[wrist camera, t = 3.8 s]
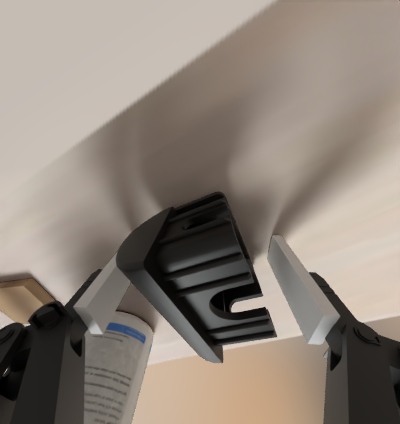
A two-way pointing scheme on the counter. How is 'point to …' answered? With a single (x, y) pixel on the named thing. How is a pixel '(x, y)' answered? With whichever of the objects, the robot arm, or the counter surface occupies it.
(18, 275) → the counter surface
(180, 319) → the end cap
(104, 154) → the counter surface
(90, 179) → the counter surface
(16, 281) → the oak coaster
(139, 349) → the supplement tub
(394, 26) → the counter surface
